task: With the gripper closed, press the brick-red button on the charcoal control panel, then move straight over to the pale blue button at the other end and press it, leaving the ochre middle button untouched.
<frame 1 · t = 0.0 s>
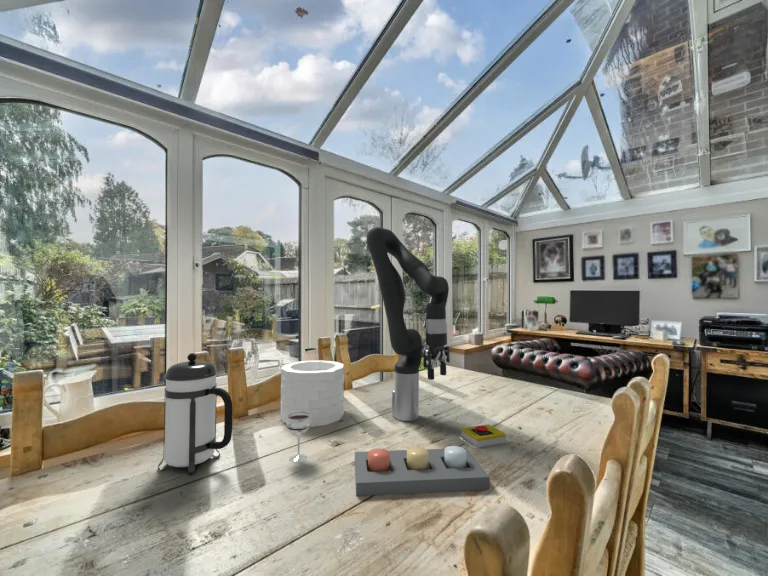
hand: (437, 377, 126), 17 cm above the table, tool pointing down, fingers open, 8 cm apart
basket: (312, 416, 134), on the table
coffee press: (195, 464, 96), on the table
wineglass: (298, 458, 100), on the table
emergency button: (484, 441, 114), on the table
control panel: (417, 475, 91), on the table
blue button: (455, 458, 92), point 4 cm above the table, slide at 0.0 cm
ochre button: (417, 459, 91), point 4 cm above the table, slide at 0.0 cm
red button: (378, 461, 90), point 4 cm above the table, slide at 0.0 cm
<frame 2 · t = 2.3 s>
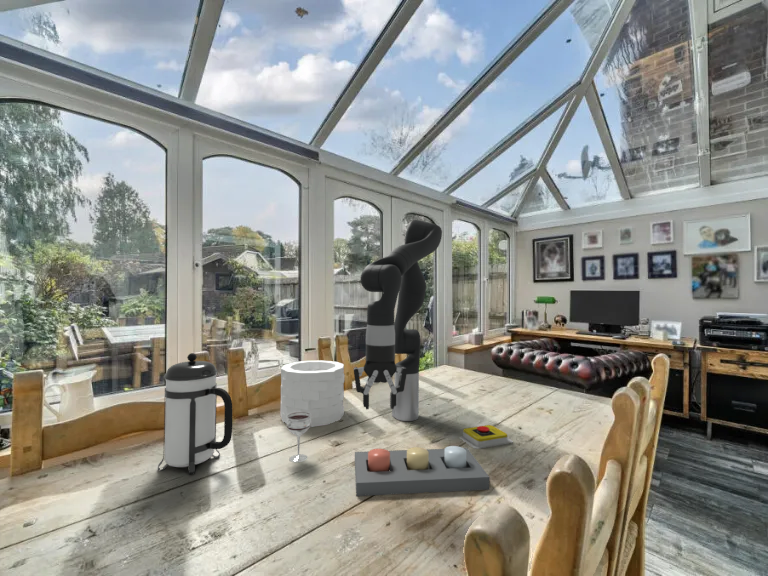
hand: (379, 407, 90), 18 cm above the table, tool pointing down, fingers open, 5 cm apart
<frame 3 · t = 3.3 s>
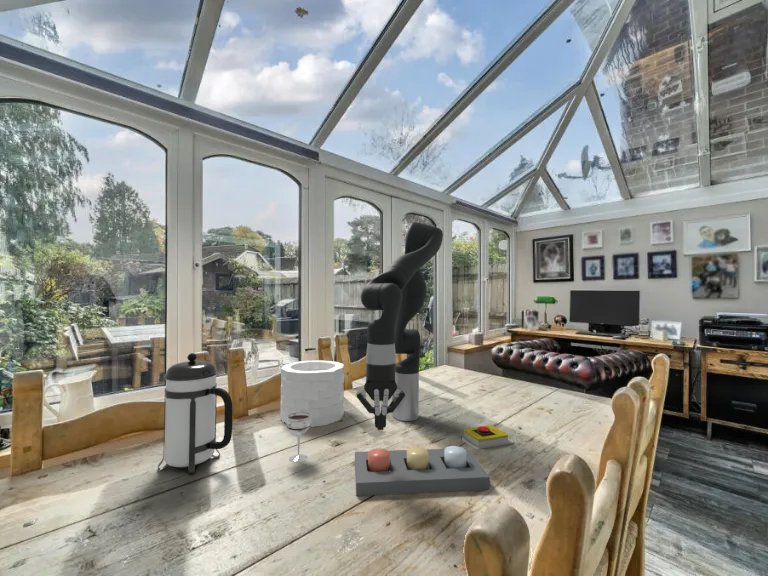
hand: (380, 428, 90), 12 cm above the table, tool pointing down, fingers closed
nothing on the table moved.
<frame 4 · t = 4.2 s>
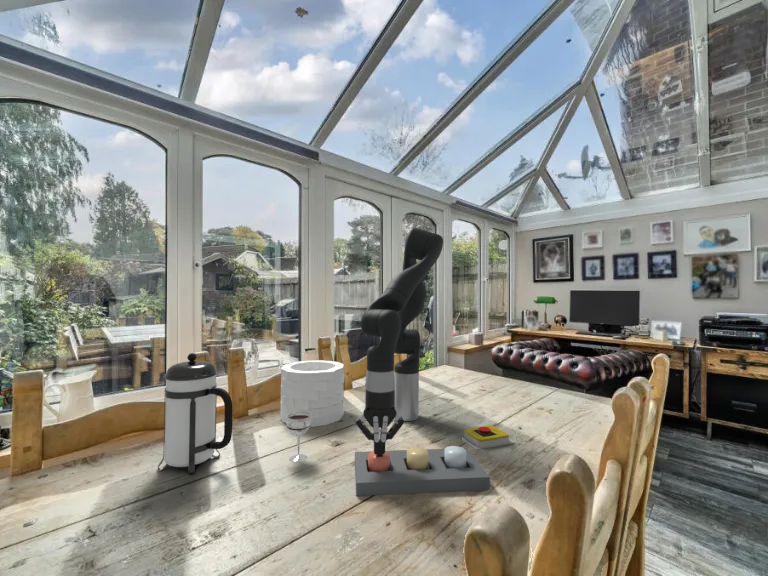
hand: (379, 455, 90), 6 cm above the table, tool pointing down, fingers closed
red button: (378, 462, 90), point 4 cm above the table, slide at 0.5 cm, touching gripper
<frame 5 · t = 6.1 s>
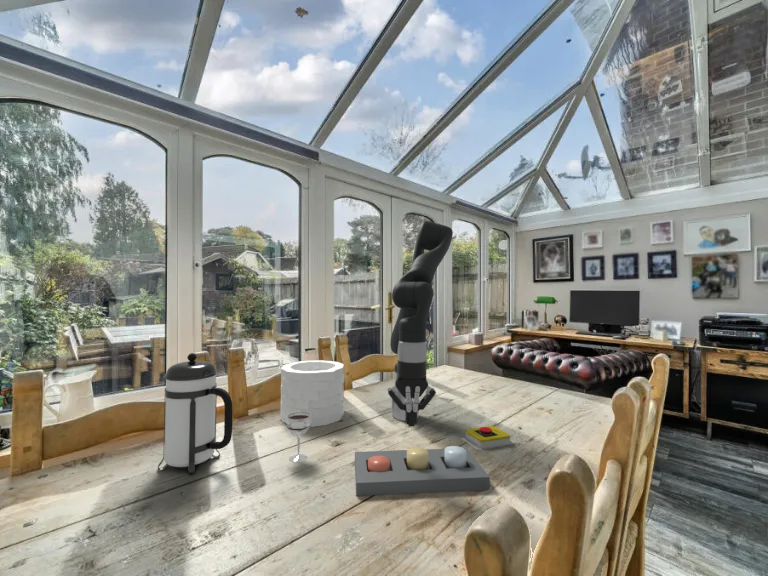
hand: (411, 425, 91), 13 cm above the table, tool pointing down, fingers closed
red button: (378, 468, 90), point 2 cm above the table, slide at 1.8 cm
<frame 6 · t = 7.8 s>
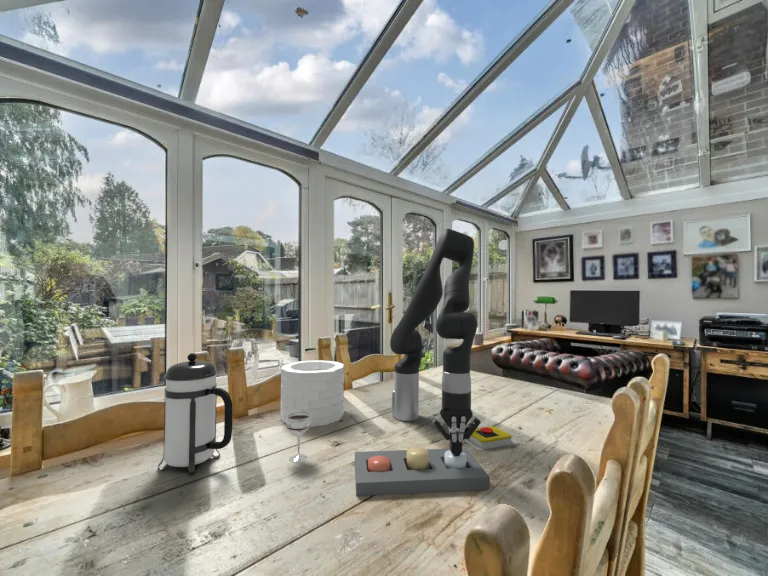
hand: (456, 454, 92), 5 cm above the table, tool pointing down, fingers closed
blue button: (455, 462, 92), point 3 cm above the table, slide at 1.1 cm, touching gripper
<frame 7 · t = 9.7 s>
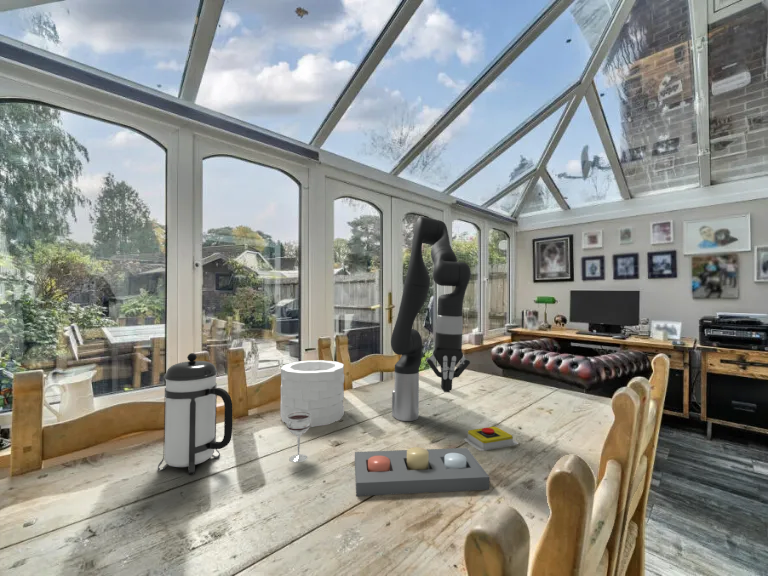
hand: (446, 391, 101), 19 cm above the table, tool pointing down, fingers closed
blue button: (455, 465, 92), point 2 cm above the table, slide at 1.8 cm
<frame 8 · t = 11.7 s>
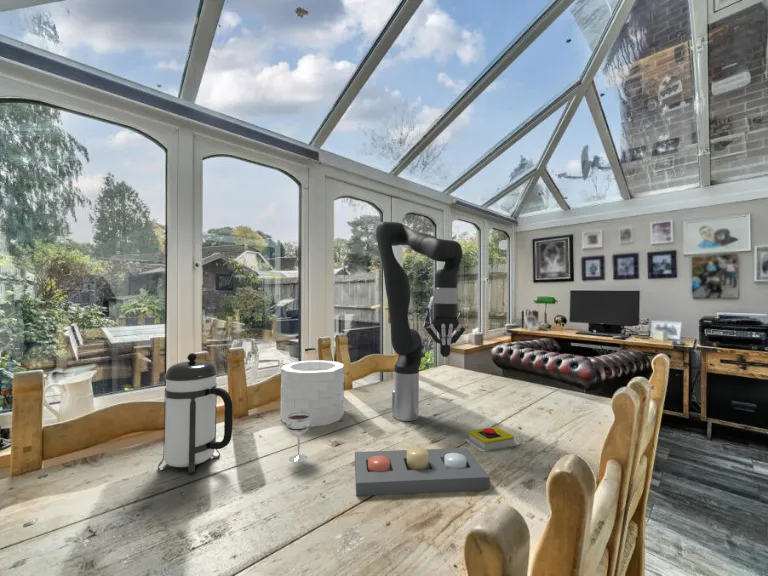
hand: (445, 356, 113), 27 cm above the table, tool pointing down, fingers closed
at the end: red button slide at 1.8 cm; blue button slide at 1.8 cm; ochre button slide at 0.0 cm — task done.
